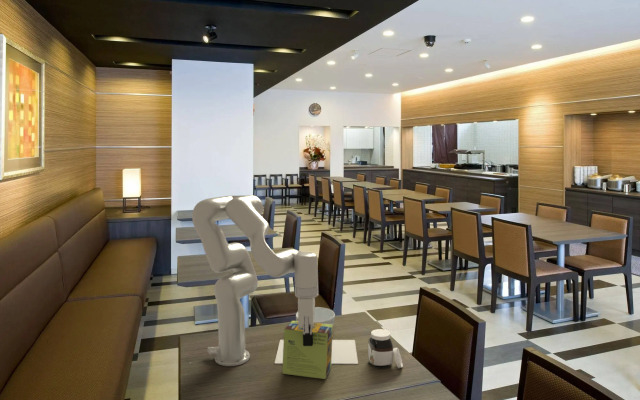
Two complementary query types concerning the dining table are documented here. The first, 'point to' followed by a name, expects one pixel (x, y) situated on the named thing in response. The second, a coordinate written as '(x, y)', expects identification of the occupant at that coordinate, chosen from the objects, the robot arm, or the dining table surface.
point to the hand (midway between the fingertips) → (308, 344)
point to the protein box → (307, 351)
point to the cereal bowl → (322, 316)
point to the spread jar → (382, 350)
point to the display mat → (340, 352)
